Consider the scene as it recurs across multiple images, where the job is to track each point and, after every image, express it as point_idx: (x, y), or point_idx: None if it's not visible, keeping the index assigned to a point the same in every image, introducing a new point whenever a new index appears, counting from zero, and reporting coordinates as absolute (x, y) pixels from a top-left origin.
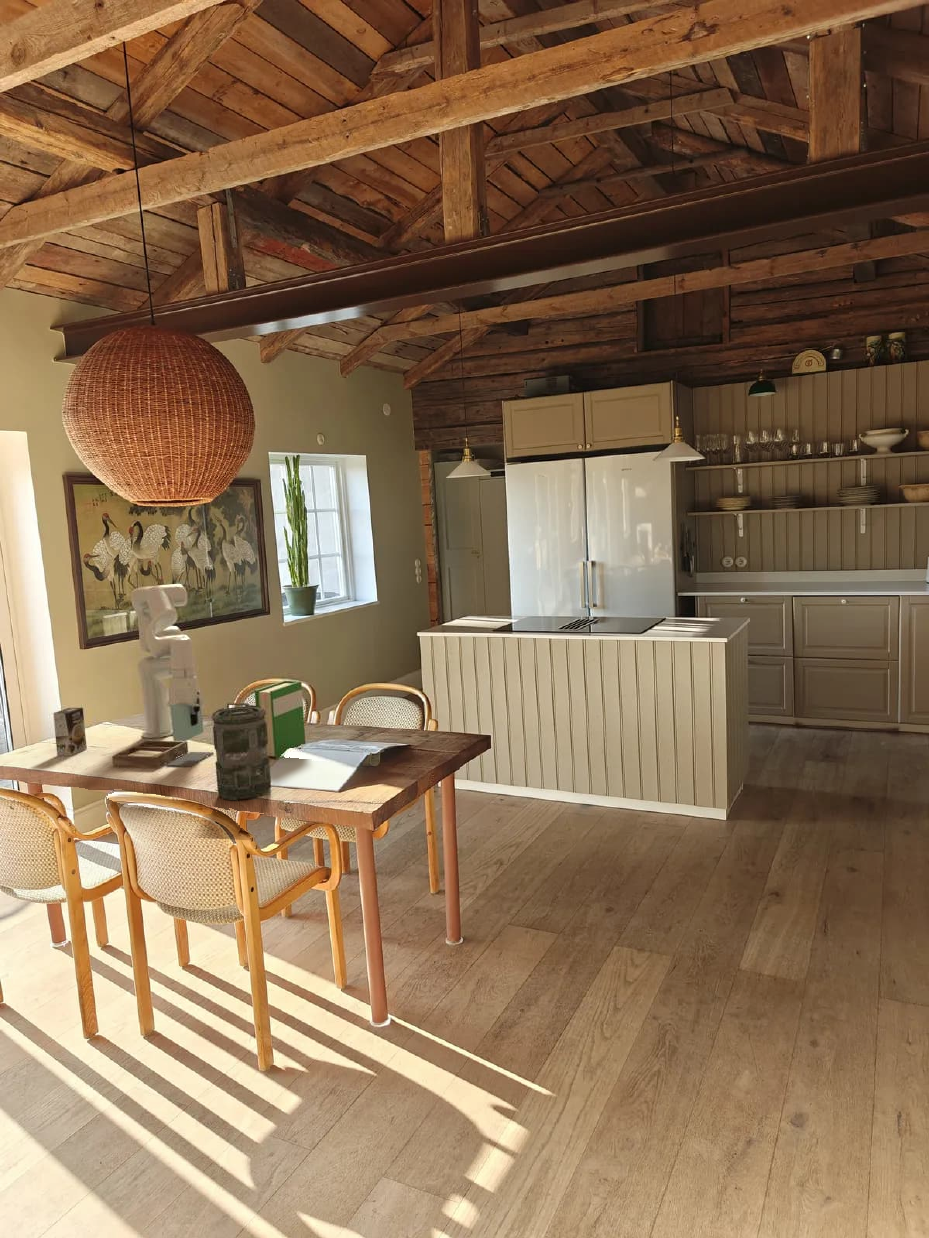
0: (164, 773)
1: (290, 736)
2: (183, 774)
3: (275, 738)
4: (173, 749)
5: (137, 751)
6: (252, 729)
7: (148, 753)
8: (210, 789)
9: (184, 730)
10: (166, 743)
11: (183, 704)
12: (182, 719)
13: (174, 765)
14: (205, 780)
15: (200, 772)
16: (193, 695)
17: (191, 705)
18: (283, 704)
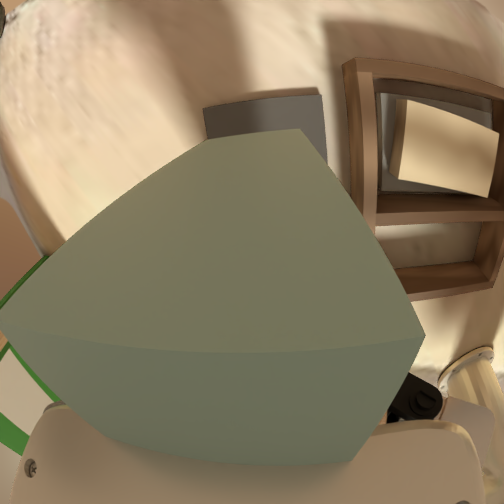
0: (255, 13)
1: None
2: (165, 29)
3: (13, 287)
4: (361, 208)
5: (489, 182)
6: None
7: (444, 152)
8: (28, 7)
9: (181, 155)
10: (429, 286)
11: (168, 455)
12: (143, 186)
13: (280, 97)
14: (64, 31)
15: (120, 72)
16: (9, 501)
17: (65, 408)
18: None
